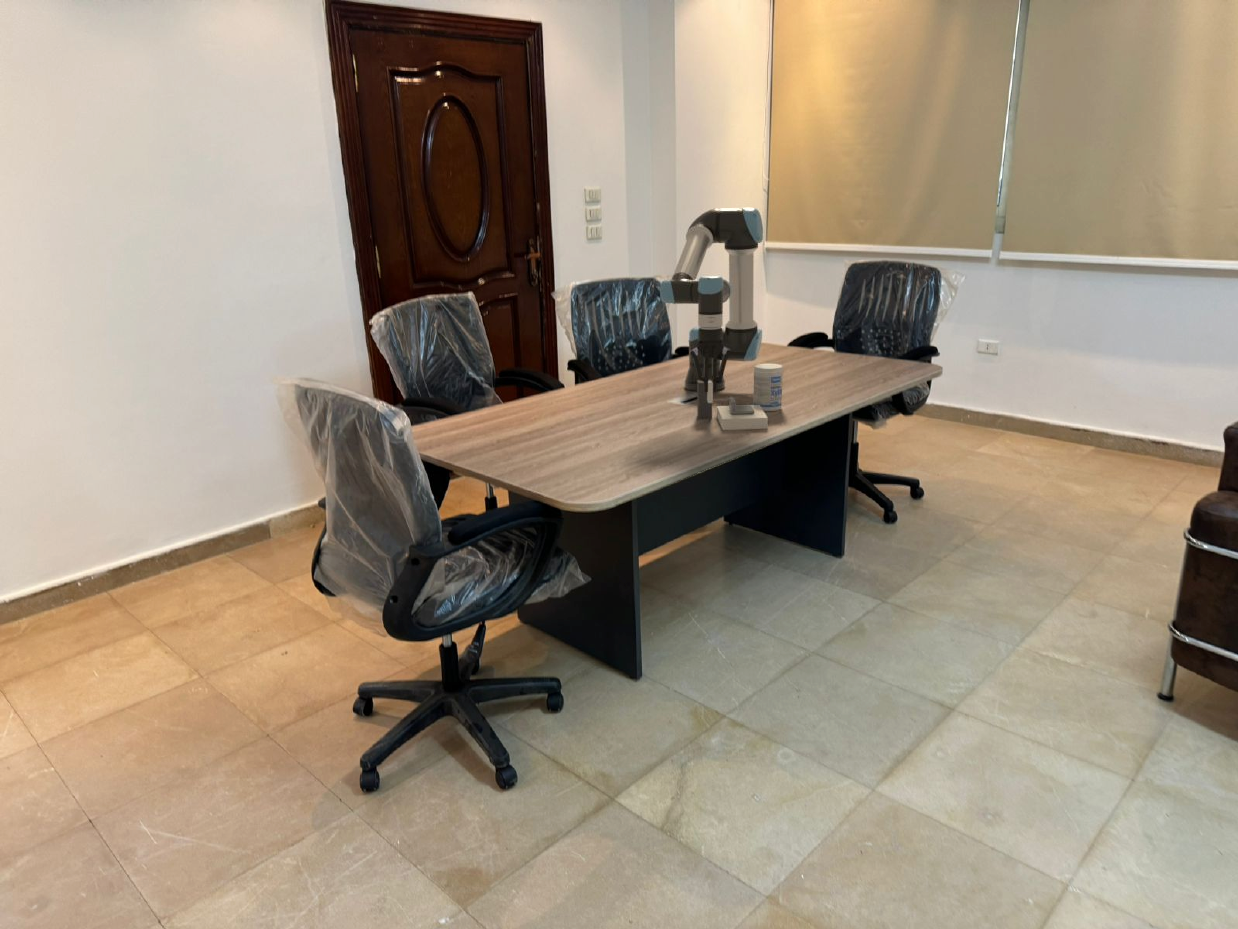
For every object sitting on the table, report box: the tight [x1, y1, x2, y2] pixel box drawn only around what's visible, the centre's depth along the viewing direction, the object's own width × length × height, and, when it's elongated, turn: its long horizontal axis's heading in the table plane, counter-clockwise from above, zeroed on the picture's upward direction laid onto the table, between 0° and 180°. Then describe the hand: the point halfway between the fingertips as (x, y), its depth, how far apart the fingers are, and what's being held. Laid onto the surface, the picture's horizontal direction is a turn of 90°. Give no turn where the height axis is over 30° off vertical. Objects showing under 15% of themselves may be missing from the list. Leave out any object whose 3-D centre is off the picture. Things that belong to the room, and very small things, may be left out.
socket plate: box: [716, 404, 769, 431], centre depth 260 cm, size 16×14×4 cm
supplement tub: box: [752, 363, 784, 412], centre depth 273 cm, size 10×10×15 cm
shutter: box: [728, 396, 754, 414], centre depth 259 cm, size 7×7×4 cm
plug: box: [696, 380, 713, 420], centre depth 266 cm, size 4×4×12 cm
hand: (710, 401), depth 258 cm, fingers closed
